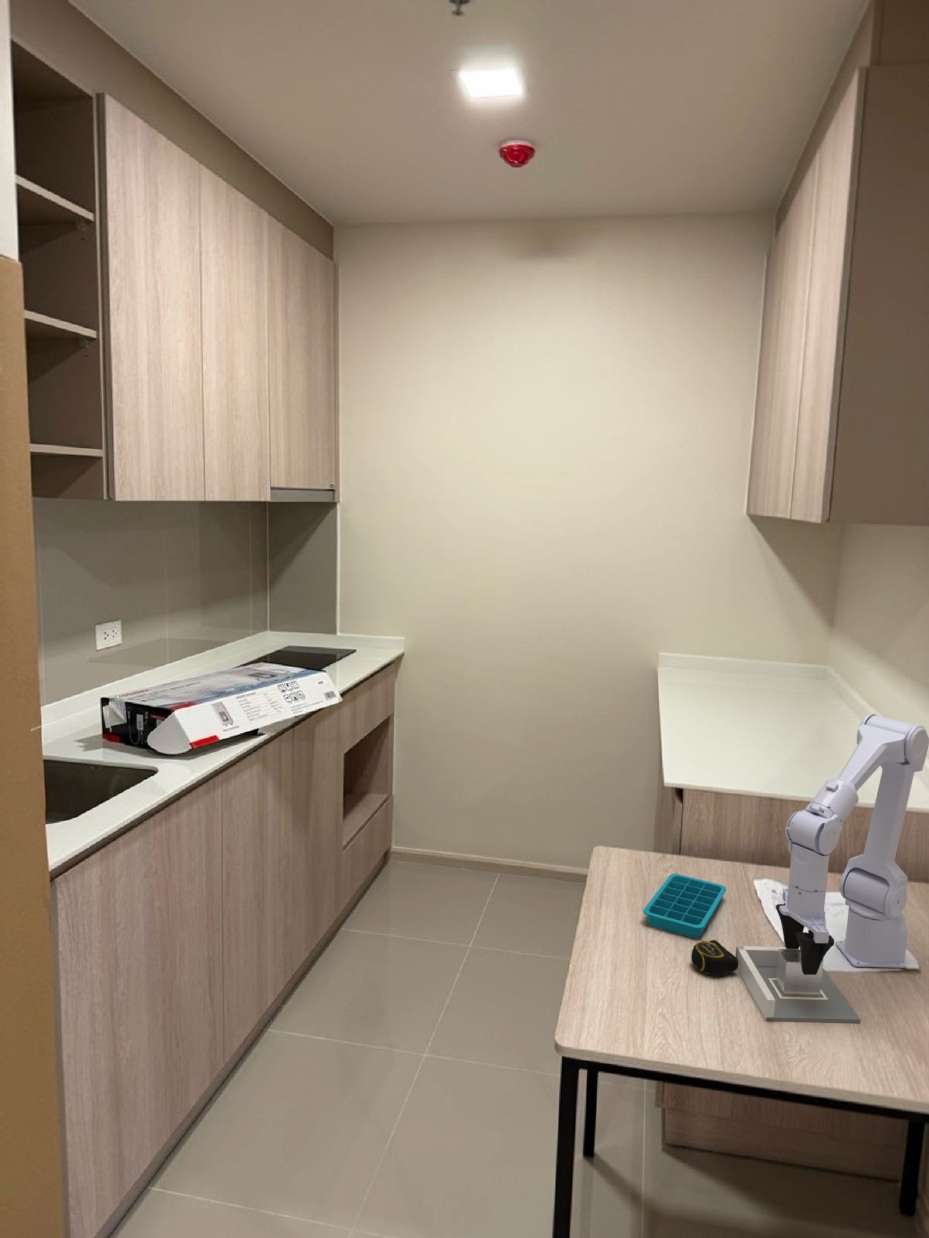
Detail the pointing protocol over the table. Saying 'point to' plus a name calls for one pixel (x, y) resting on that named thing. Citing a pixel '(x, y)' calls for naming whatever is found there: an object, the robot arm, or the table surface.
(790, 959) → the aluminium block
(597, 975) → the table surface
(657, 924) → the ice cube tray
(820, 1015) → the tray
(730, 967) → the tape measure
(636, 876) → the table surface
